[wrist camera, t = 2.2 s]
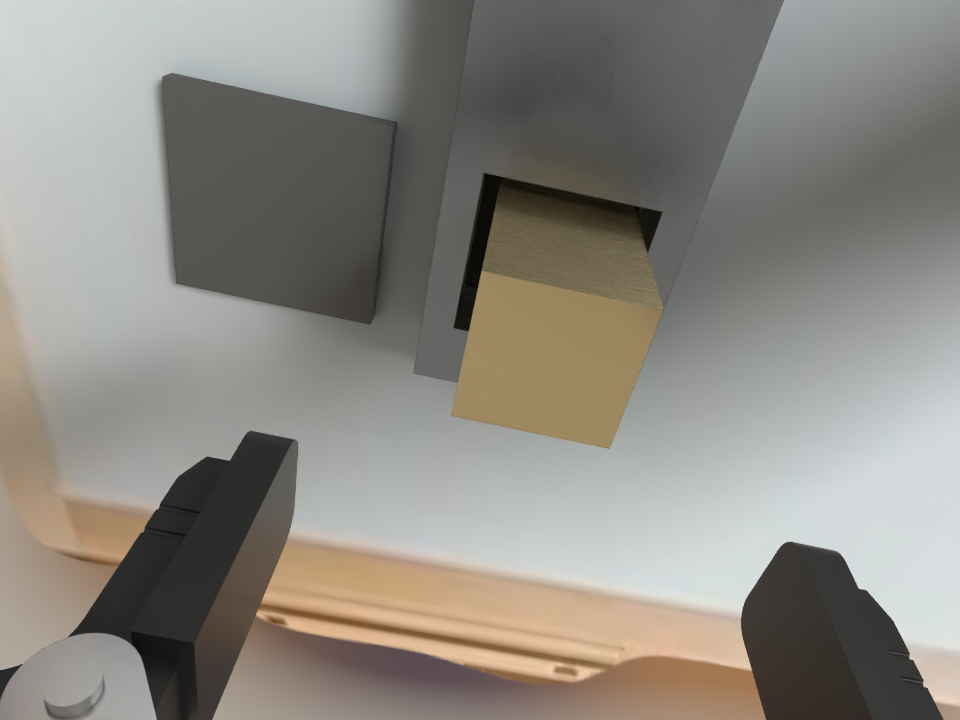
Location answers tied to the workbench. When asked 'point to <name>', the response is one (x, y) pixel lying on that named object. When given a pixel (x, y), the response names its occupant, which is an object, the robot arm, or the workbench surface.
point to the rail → (590, 125)
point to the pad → (277, 197)
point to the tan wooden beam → (558, 315)
